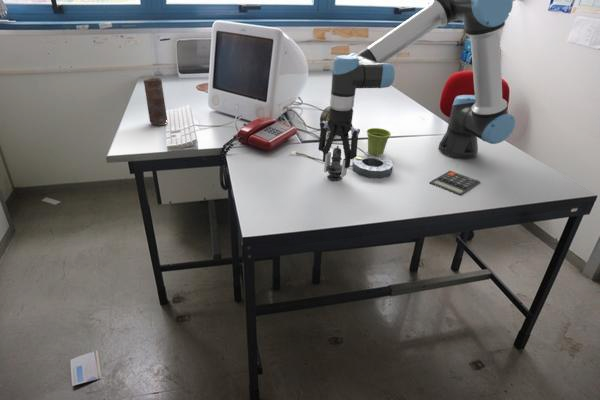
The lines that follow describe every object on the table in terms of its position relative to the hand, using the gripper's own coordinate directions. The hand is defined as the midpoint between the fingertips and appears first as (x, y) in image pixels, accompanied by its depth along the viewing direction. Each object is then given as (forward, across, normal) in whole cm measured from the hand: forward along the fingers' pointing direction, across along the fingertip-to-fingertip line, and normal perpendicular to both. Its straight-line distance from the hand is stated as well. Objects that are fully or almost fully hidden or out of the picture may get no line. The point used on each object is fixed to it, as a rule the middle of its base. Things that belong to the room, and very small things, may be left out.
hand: (335, 173), depth 141 cm
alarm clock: (+2, +22, -39) cm, 45 cm away
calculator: (+3, -36, -22) cm, 42 cm away
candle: (+2, +88, -1) cm, 88 cm away
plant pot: (+2, -3, -30) cm, 30 cm away
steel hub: (+2, -8, -14) cm, 16 cm away
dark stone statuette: (+2, 0, 0) cm, 2 cm away
